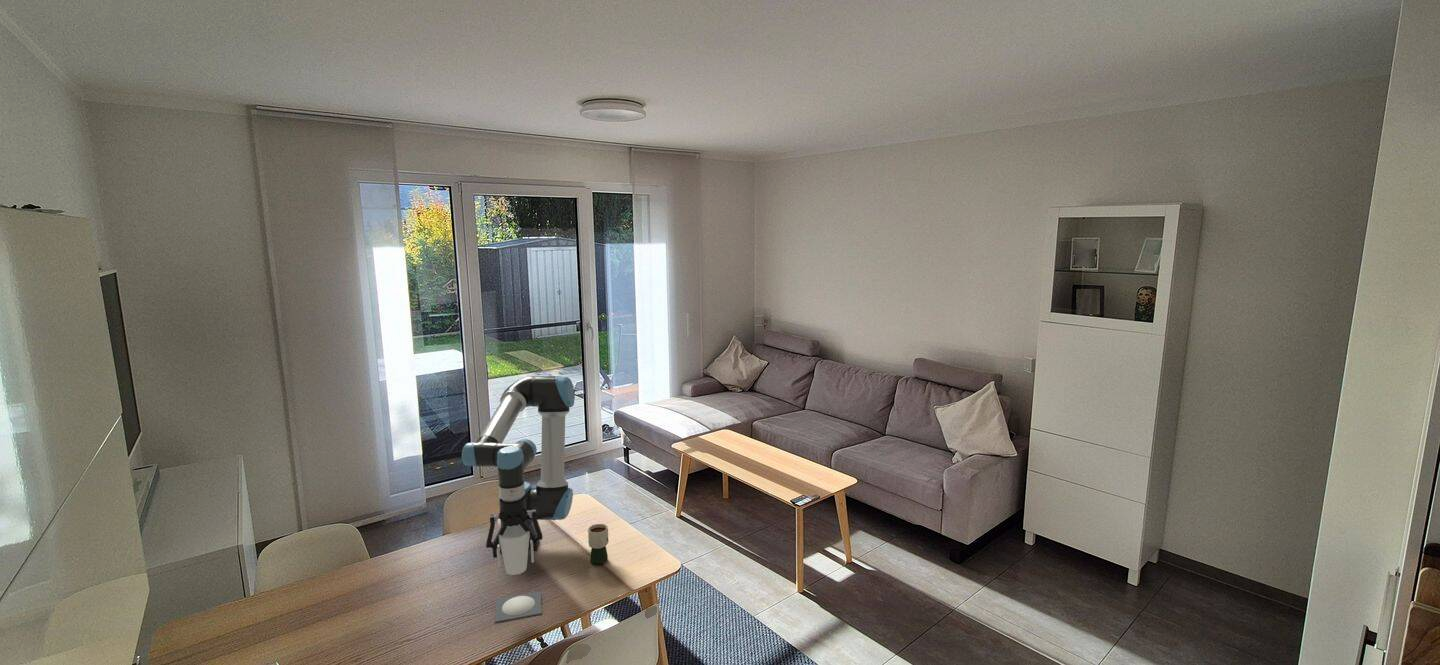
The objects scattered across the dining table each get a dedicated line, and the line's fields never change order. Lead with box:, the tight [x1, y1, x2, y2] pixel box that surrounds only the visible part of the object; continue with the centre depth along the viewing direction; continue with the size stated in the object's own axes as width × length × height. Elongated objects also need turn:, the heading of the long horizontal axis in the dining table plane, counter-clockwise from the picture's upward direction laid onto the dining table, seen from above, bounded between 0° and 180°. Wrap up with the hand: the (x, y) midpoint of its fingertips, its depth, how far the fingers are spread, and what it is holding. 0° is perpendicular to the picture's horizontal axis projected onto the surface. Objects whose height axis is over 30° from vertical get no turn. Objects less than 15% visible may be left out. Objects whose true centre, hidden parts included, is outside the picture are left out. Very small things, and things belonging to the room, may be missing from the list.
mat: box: [494, 590, 543, 624], centre depth 194 cm, size 12×14×1 cm
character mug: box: [587, 523, 609, 565], centre depth 219 cm, size 11×7×13 cm, turn 29°
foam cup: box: [499, 524, 530, 576], centre depth 190 cm, size 10×9×13 cm
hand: (516, 563), depth 191 cm, fingers closed on foam cup, 9 cm apart
